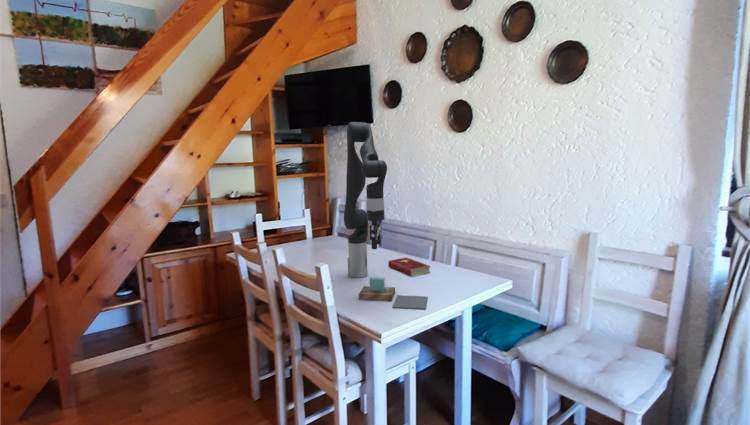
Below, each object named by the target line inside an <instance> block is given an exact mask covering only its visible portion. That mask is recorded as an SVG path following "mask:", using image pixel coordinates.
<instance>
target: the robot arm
mask: <svg viewBox="0 0 750 425" xmlns="http://www.w3.org/2000/svg"><path fill="white" fill-rule="evenodd" d="M346 143H347V144H346V146H347V148H346V150H347V151H346V152H347V161H346V180H345V181H346V184H345V185H346V186H345V187H346V188H345V189H346V190H345V191H346V192H345V203H344V212H343V224H344V226H345V228H346V229H347V230H354V231H353V232H352V234H350V235H349V236H348V237H347V245H348V248H347V249H348V257H347V276H348V277H349V278H350V277H351V278H355V279H359V278H365V277H368V272H369V270H368V244H367V243H368V242H367V241H368V239H367V238H368V236H369V241H371V243H370V244H371V249H372V250H377V249H378V245H381V243H382V241H381V240H382V239H381V238H382V237H381V236H382V234H383V233H382V232H383V229H382V228H383V227H382V221H384V220H385V217H386V215H385V199H384V187H385V186H384V185H385V180H386V176H387V172H388V166H387V163H386V161H385V160H381V159H380V158H379V155H378V153H377V150H376V147H375V144H374V136H373V131H372V127H371V125H370V124H369V123H368V122H361V121H350V122H348V124H347V126H346ZM355 143H362V145H361V146H360V147H359V148H360V149H359V156H358V153H357V150H356V146H355ZM379 159H380V160H379ZM367 178H368V179H371V178H372V179H373V178H375V179H376V178H377V179H376V181H375V182H371V183H369V184H367V185H366V179H367ZM365 186H366V187H365ZM364 188H365V190H366V202H365V205H366V208H365V209H366V210H364V209H356V208H357V203H358V200H359V198H360V196H361V193H362V192H363V191H364ZM369 222H371V224H370V225H369Z"/></svg>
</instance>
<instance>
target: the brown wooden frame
mask: <svg viewBox="0 0 750 425" xmlns="http://www.w3.org/2000/svg"><path fill="white" fill-rule="evenodd" d="M395 295H396V287H395V286H394V287H393V286H385V291H372V290H370V285H364V286H363V287H362V288H361V290H360V292H358V300H362V301H381V302H382V301H384V302H393V299H394V297H395Z"/></svg>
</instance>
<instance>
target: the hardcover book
mask: <svg viewBox="0 0 750 425" xmlns="http://www.w3.org/2000/svg"><path fill="white" fill-rule="evenodd" d="M388 268H390V269H393V270H394V271H397V272H399V273H402V274H404V275H407V276H409V277H410V278H412V277H415V276H421V275H424V274H429V273H430V268H431V266H430V265H429V264H426V263H423V262H421V261H418V260H415V259H413V258H409V257H407V256H406V257H401V258H396V259H391V260H388Z"/></svg>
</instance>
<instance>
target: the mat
mask: <svg viewBox="0 0 750 425" xmlns="http://www.w3.org/2000/svg"><path fill="white" fill-rule="evenodd" d="M428 299H429V296H422V295H420V296H419V295H403V294H400V295H399V294H398V295H397V294H396V297H395V299H394V302H393V305H392V309H402V310H403V309H405V310H424V311H426V310H427V303H428Z"/></svg>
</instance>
